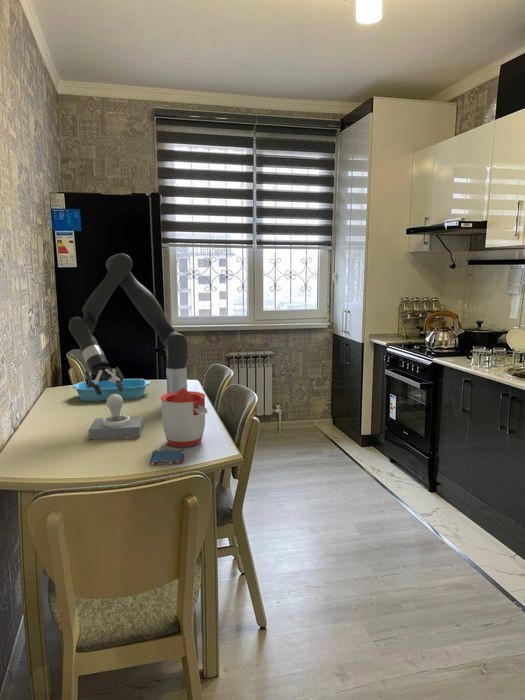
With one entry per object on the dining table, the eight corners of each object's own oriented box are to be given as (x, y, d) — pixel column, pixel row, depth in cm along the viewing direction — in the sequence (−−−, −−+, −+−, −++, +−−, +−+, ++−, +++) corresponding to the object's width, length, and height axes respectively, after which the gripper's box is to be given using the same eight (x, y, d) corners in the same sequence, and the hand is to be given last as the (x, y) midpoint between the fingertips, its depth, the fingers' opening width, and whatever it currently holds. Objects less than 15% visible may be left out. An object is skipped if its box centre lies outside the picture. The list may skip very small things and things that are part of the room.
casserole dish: (150, 389, 260) (149, 376, 258) (151, 399, 238) (150, 385, 237) (76, 394, 251) (75, 380, 250) (70, 405, 229) (69, 390, 228)
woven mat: (183, 465, 155) (183, 459, 155) (149, 467, 154) (148, 461, 154) (185, 454, 166) (185, 448, 165) (153, 455, 165) (153, 449, 164)
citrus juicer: (191, 453, 164) (189, 395, 161) (153, 444, 174) (150, 389, 171) (219, 440, 178) (218, 386, 175) (182, 432, 187) (180, 381, 184)
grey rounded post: (109, 425, 183) (107, 396, 181) (106, 421, 188) (104, 393, 187) (126, 423, 185) (124, 394, 184) (122, 419, 191) (121, 391, 189)
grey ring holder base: (143, 426, 195) (142, 412, 195) (139, 437, 182) (139, 422, 181) (96, 428, 193) (95, 414, 192) (89, 440, 179) (88, 425, 178)
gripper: (80, 355, 187) (96, 389, 180) (115, 351, 197) (131, 383, 190) (75, 367, 191) (90, 401, 185) (109, 362, 201) (124, 394, 195)
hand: (111, 392), depth 188 cm, fingers open, 8 cm apart
